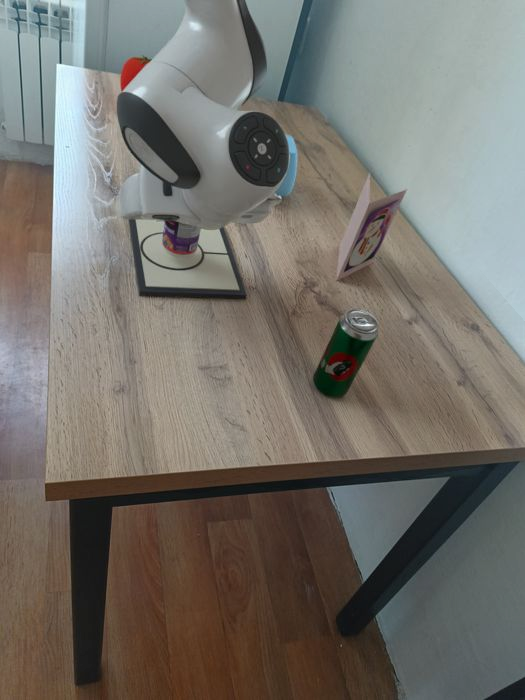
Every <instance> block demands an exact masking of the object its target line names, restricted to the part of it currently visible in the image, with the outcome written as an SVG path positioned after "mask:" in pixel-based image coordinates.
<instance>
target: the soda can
mask: <svg viewBox="0 0 525 700" xmlns="http://www.w3.org/2000/svg"><path fill="white" fill-rule="evenodd" d="M334 327H335V328H334V329H333V331H332V334H331V336H330V337H329V341H328V343H327V345H326V347H325V349H324V351H323V354H322V355H321V358H320V361H319V362H318V365H317V366H316V369H315V371H314V373H313V377H312V382H313V384H314V386H315V388H316V389H317V390H318V392H320V393H321V394H322V395H324V396H326V397H329V398H341V397H343V396H345V395H347V393H348V392H349V390H350V388H351V387H352V384H353V383H354V381H355V379H356V377H357V375H358V373H359V371H360V369H361V368H362V366H363V364H364V362H365V360H366V359H367V356H368V355H369V353H370V350H371V349H372V347H373V346H374V343H375V342H376V340H377V337H378V335H379V331H378V329H379V322H378V320H377V319H376V318H375V316H374V315H372V314H371V313H369V312H368V311H366V310H363V309H359V308H350V309H347V310H346V311H345V312H344V314H342V315H341V316H340V317H339V318H338V321H337V322H336V324H335V326H334Z"/></svg>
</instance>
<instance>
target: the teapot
mask: <svg viewBox="0 0 525 700" xmlns="http://www.w3.org/2000/svg"><path fill="white" fill-rule="evenodd" d="M267 114H268V115H270V114H269V113H267ZM286 136H287V139H288V143H289V151H290V159H289V166H288V170H287V173H286V176H285V178H284V180H283V182H282V183H281V185H280V186H279V188H278V189H277V190H276V191H275V192H274V193H275V194H276V195H280V196H281V197H288V196H289V195H290V194H291V192H292V191H293V190H294V186H295V182H296V177H297V170H298V148H297V145H296V142H295V140H294V137H293V136H292V135H289V134H286Z"/></svg>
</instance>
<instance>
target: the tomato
mask: <svg viewBox="0 0 525 700" xmlns="http://www.w3.org/2000/svg"><path fill="white" fill-rule="evenodd" d="M141 56H142V57H139V56H132V57H131V58H128V59H127V60H126V62H125V63H124V64H123V67H122V69H121V71H120V72H121V73H120V82H119V83H120V91H121V92H122V91H123V90H124V89H125V88H126V87H127V85H128V84H129V83H130V82H131V81H132V80H133V79H134V78H135V77H136V75H137V74H138V73H139V72H140V71H141V70H142V69H143V68H144V67H145V66H146V65H147V64H148V63H149V62H150V61H151V60H152V59H153V58H148V56H145V55H144V54H142V55H141ZM121 92H120V93H121Z"/></svg>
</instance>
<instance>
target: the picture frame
mask: <svg viewBox="0 0 525 700" xmlns="http://www.w3.org/2000/svg"><path fill="white" fill-rule="evenodd" d="M127 220H128V226H129V233H130V239H131V240H130V241H131V246H132V247H131V248H132V255H133V261H134V269H135V276H136V283H137V290H138V295H139V296H142V297H143V296H146V297H175V298H176V297H177V298H178V297H179V298H207V299H212V298H213V299H234V300H235V299H237V300H238V299H241V300H246V299H247V295H248V294H247V292H246V289H245V286H244V283H243V280H242V277H241V274H240V271H239V268H238V266H237V263H236V260H235V256H234V254H233V251H232V248H231V245H230V242H229V240H228V237H227V233H226V230H225V227H223V228H221V229H217V230H205V229H201V231H200V236H199V241H198V246H197V250H196V253H195V254H194V255H193V256H191V257H187V258H178V257H174V256H172V255H170V254H168V253H167V252H165V251H164V249H163V247H162V237H163V230H164V223H165V222H159V221H156V220H136V219H127Z"/></svg>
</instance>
